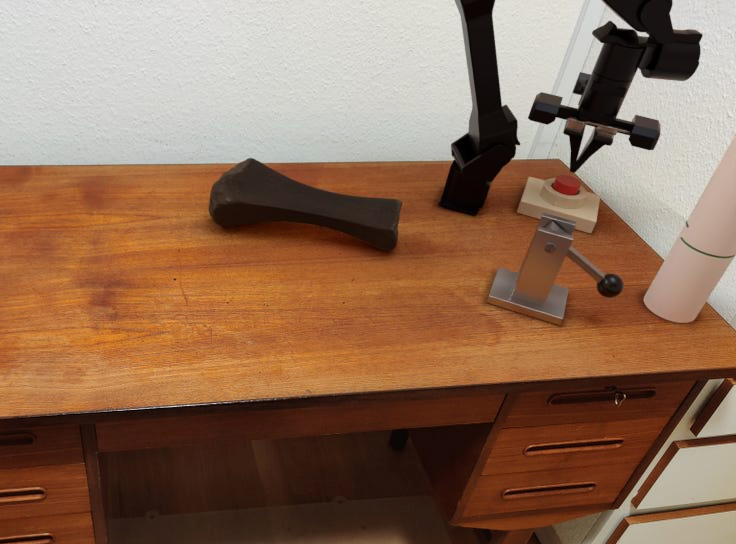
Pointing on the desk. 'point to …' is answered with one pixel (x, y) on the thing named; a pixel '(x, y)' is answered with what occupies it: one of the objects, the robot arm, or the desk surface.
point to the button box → (559, 203)
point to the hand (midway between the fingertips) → (572, 171)
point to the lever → (594, 270)
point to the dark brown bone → (300, 205)
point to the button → (566, 185)
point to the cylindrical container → (699, 249)
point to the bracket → (537, 275)
